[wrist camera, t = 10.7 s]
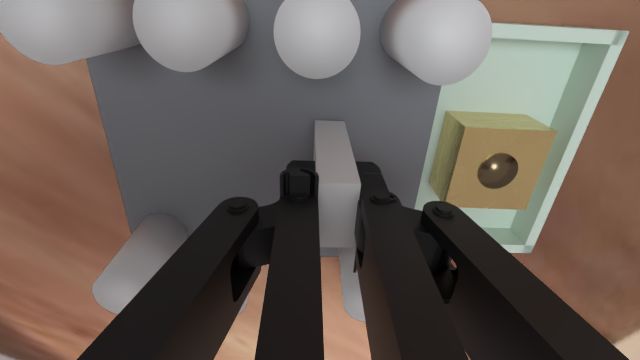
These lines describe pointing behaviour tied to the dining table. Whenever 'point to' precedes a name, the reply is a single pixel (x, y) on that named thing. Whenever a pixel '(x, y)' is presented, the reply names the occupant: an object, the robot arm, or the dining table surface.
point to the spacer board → (248, 100)
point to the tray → (531, 109)
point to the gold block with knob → (489, 159)
